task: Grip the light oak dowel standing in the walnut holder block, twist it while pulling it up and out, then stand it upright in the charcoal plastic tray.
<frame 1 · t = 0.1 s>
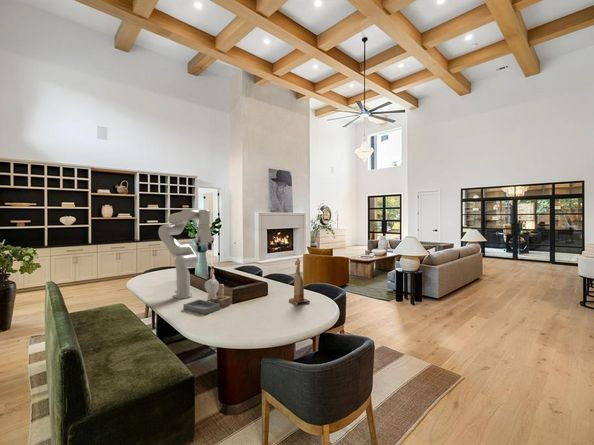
hand: (204, 250, 208), 37 cm above the table, tool pointing down, fingers open, 9 cm apart
dowel: (221, 294, 201), in the holder block
bird sculpture: (299, 302, 206), on the table
shell sculpture: (212, 300, 213), on the table
holder block: (221, 304, 201), on the table
tray: (201, 309, 192), on the table
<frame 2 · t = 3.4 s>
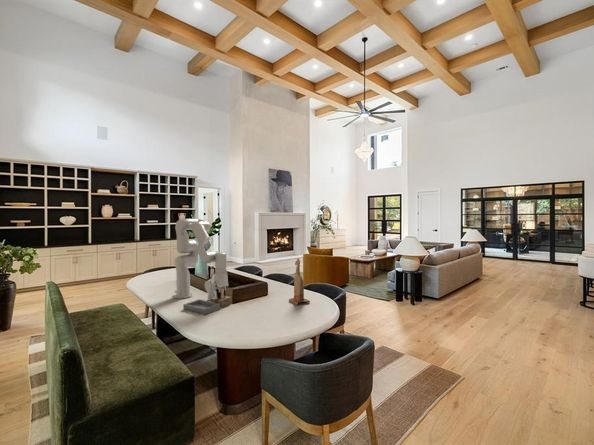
hand: (221, 296, 201), 6 cm above the table, tool pointing down, fingers closed on dowel, 3 cm apart
dowel: (221, 294, 201), in the holder block, touching gripper
everything else where it was.
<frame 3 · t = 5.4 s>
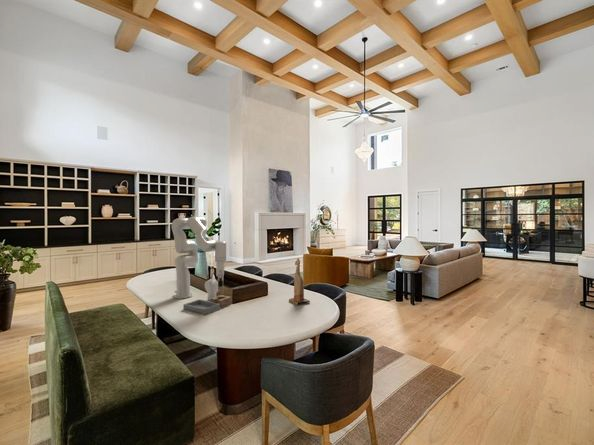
hand: (220, 285, 201), 14 cm above the table, tool pointing down, fingers closed on dowel, 3 cm apart
dowel: (220, 283, 201), point 15 cm above the table, touching gripper
everything else where it was.
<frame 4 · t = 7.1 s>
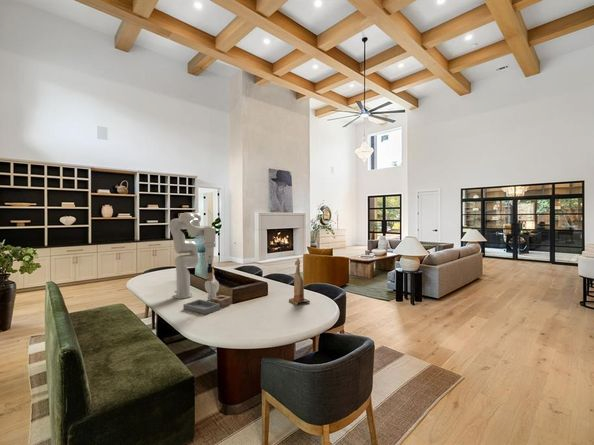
hand: (209, 271, 195), 24 cm above the table, tool pointing down, fingers closed on dowel, 3 cm apart
dowel: (210, 270, 195), point 25 cm above the table, touching gripper
everything else where it was.
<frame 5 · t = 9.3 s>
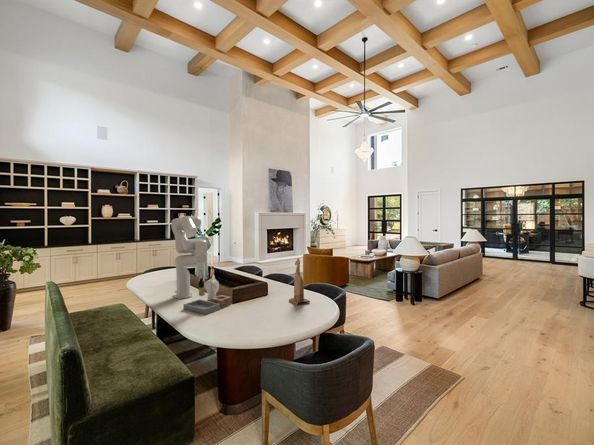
hand: (201, 286, 191), 15 cm above the table, tool pointing down, fingers closed on dowel, 3 cm apart
dowel: (201, 284, 191), point 17 cm above the table, touching gripper
everything else where it was.
when the fingers open (7 cm above the table, at t = 11.1 s): dowel stays where it is, resting on tray.
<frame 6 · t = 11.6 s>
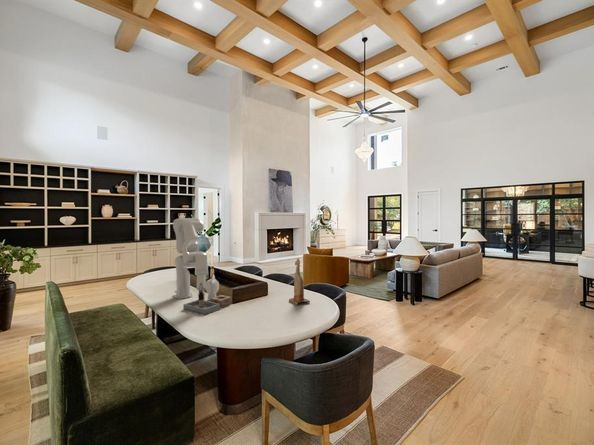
hand: (201, 297, 192), 8 cm above the table, tool pointing down, fingers open, 8 cm apart
dowel: (201, 297, 192), in the tray, point 8 cm above the table
everything else where it was.
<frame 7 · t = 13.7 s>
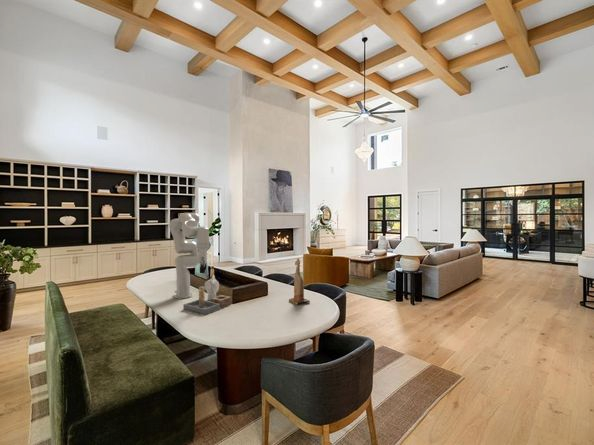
hand: (203, 271, 194), 25 cm above the table, tool pointing down, fingers open, 9 cm apart
nothing on the table moved.
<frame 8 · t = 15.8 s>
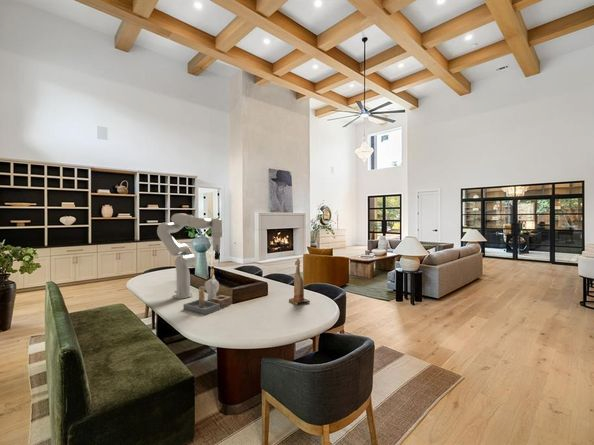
hand: (217, 258, 213), 30 cm above the table, tool pointing down, fingers open, 9 cm apart
nothing on the table moved.
at the end: dowel inside the target area on the tray (0.0 cm from its centre), point 7.8 cm above the tray's base; dowel tilted 0° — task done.
